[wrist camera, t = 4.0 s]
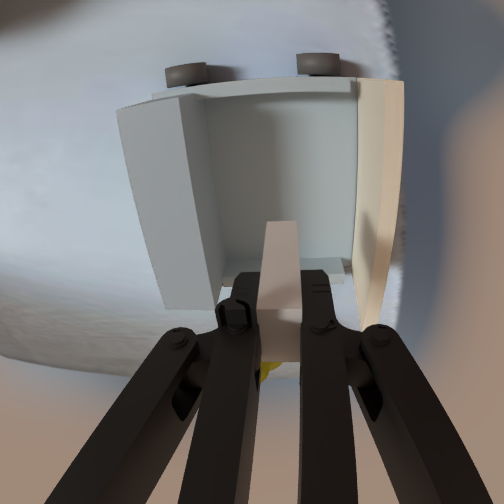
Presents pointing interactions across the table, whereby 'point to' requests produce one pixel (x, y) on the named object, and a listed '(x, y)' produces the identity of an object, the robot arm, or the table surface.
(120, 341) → the table surface
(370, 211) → the panel
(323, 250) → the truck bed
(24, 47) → the table surface
